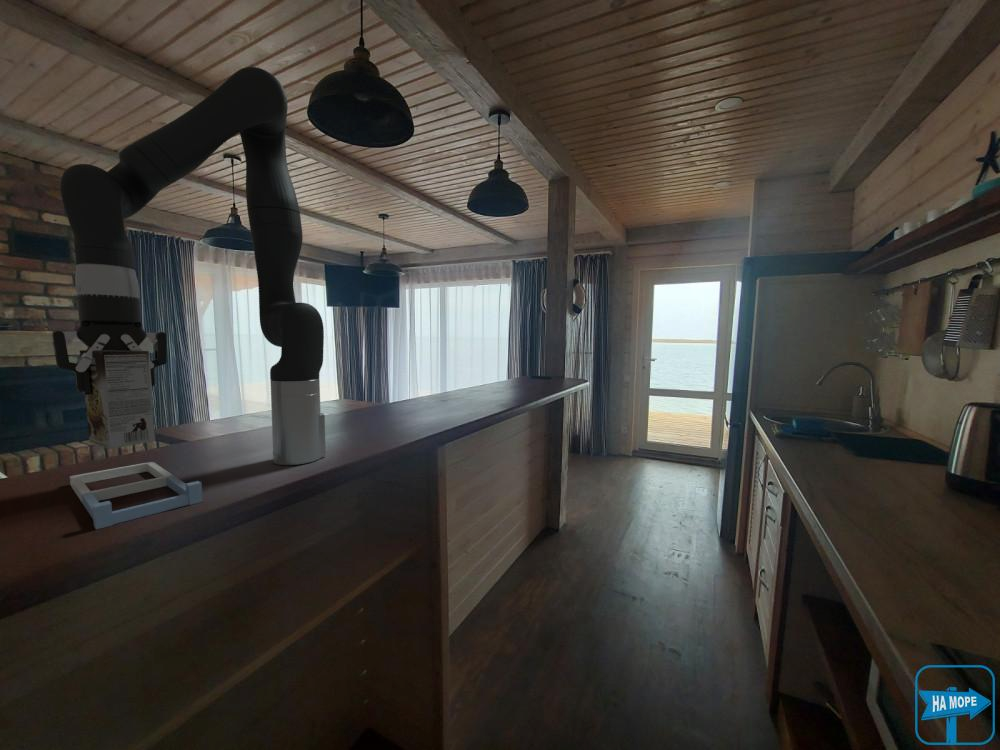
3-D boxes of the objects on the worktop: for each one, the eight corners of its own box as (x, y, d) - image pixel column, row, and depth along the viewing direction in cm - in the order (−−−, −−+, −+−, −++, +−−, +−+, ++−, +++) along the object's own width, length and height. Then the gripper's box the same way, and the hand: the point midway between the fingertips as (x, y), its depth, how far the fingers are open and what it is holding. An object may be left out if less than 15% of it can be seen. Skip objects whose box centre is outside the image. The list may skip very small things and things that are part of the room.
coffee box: (87, 443, 67) (77, 349, 66) (135, 435, 73) (127, 349, 71) (108, 450, 63) (98, 350, 61) (157, 440, 68) (150, 349, 67)
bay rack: (154, 468, 77) (154, 453, 76) (202, 501, 60) (201, 482, 60) (67, 485, 67) (66, 468, 67) (95, 529, 51) (94, 507, 51)
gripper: (158, 300, 73) (165, 386, 75) (41, 292, 62) (52, 395, 64) (169, 297, 69) (177, 389, 70) (46, 288, 58) (57, 399, 59)
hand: (118, 391), depth 67 cm, fingers closed on coffee box, 7 cm apart
